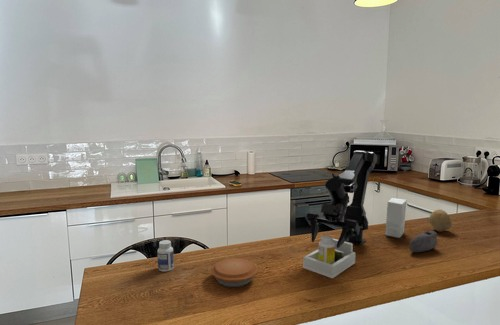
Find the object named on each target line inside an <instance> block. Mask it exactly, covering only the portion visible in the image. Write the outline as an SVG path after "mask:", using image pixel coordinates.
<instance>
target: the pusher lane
mask: <svg viewBox="0 0 500 325" xmlns="http://www.w3.org/2000/svg"><path fill="white" fill-rule="evenodd" d="M338 240H339V239H336V238H333V242H334V244H335V249H336V250H339V251H342V252H344V257H343V258H342V259H340V260H338V261H337V262H334V264H332V265H331V264H328V263H325V262H322V261H319V260H318V249H315V250H314V251H312V252H310V253H309V254H307V255H305V256H303V258H302V260H303V261H302V262H303V263H302V268H303V269H305V270H308V271H310V272H314V273H316V274H320V275H322V276H325V277H328V278H330V279H334V278H335V277H337V276H339V275H340V274H341V273H343V272H344V271H345V270H348V268H350V267H351V266H353V265H354V264H356V252H355V251H353V250H354V249H353V246H354V243H350V242H346V241H345V242H344V243H343V244H342V245H341V246H340V247H339V248H337V247H336V246H337V243H338Z"/></svg>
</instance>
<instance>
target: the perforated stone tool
mask: <svg viewBox="0 0 500 325" xmlns="http://www.w3.org/2000/svg"><path fill="white" fill-rule="evenodd" d="M437 235H438V233H437V232H436V231H434V230H428V231H425V232H422V233H419V234H417V235H416V236H414V237H413V238H412V239H411V240H410V242H409V246H408V247H409V250H410V251H411V252H412V253H422V252H423V253H424V252H427V251H430V250H432V249H434V248H436V246H437V245H438V238H437V237H438V236H437Z"/></svg>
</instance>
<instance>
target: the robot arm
mask: <svg viewBox="0 0 500 325" xmlns="http://www.w3.org/2000/svg"><path fill="white" fill-rule="evenodd" d="M377 162H378V156H377V154H376V153H375V152H373V151H366V150H354V151H353V152H352V157H351V159H350V161H349V163H348V164H347V167H346V168H345V170H344V171H343V172H341V173H339V175H333V177H332V178H329V179H328V180H326V182H325V185H324V186H325V188H326V190H327V193H328V195H329V197H330V198H331V200H330V203H324V202H323V203H321V209H320V213H322V215H323V217H324V218H323V217H320V216H319V214H318V213H315V212H310V211H309V212H307V213H305V217H304V218H305V220H306V222H307V224H308V225H309V226H310V227H311V242H312V243H315V241H316V238H317V235H318V234H319V231H320V229H321V228H320V226H321V224H322V225H327V226H333V227H337V228H342V229H341V233H340V234H339V238H338V239H337V240H338V243H337V246H336V247H337V248H339V247H340V246H341V245H342V244H343V243H344V242H348V243H352V244H353V245H358V246H359V245H362V244H363V243H365V242H366V239H365V238H364V231H366V230H368V231H369V220H368V218H367V211H366V210H365V207H364V203H365V199H366V194H367V193H366V192H367V187H368V183H369V176H370V173H371V172H372V171H373V170H374V168H375V166H376V164H377ZM349 194H352V195H353V196H352V200H351V203H350V196H349ZM349 203H350V204H349ZM348 204H349V205H348Z"/></svg>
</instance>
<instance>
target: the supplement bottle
mask: <svg viewBox="0 0 500 325" xmlns="http://www.w3.org/2000/svg"><path fill="white" fill-rule="evenodd" d="M333 239H334V237H332V236H331V235H328V234H327V235H322V236H320V241H319V242H318V249H317V250H318V260H319V261H322V262H325V263H328V264H331V265H332V264H334V259H335V244H334V242H333Z"/></svg>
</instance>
